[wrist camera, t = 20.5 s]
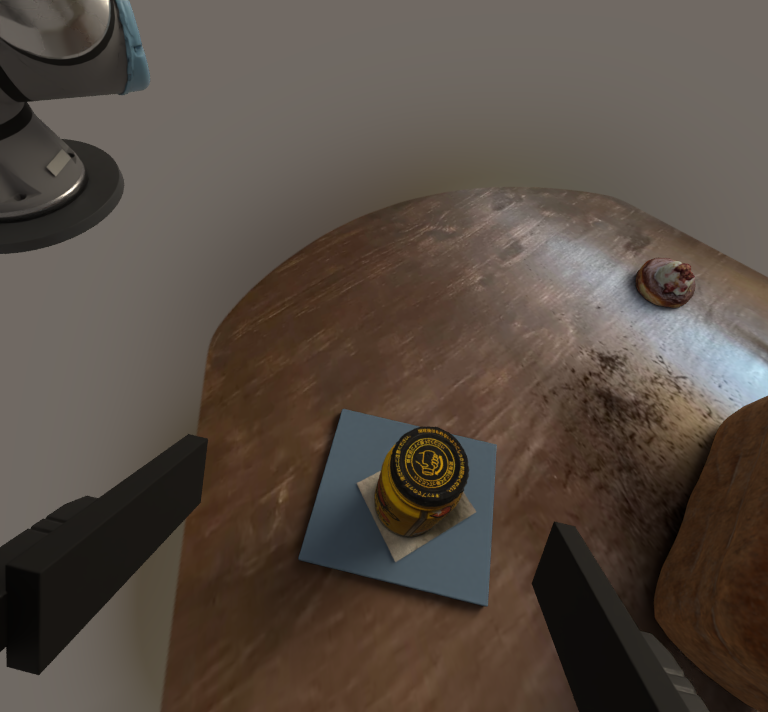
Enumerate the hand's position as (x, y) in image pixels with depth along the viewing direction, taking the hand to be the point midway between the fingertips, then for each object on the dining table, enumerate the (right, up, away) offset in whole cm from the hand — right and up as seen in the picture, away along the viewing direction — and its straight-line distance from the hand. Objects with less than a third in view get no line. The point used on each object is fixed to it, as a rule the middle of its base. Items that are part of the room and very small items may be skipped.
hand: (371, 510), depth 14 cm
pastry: (+39, +15, +40) cm, 58 cm away
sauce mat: (+3, -8, +22) cm, 23 cm away
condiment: (+3, -7, +21) cm, 23 cm away
